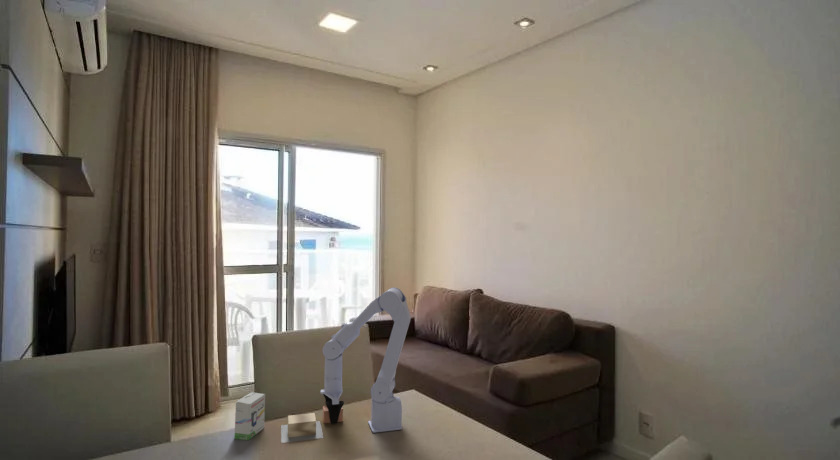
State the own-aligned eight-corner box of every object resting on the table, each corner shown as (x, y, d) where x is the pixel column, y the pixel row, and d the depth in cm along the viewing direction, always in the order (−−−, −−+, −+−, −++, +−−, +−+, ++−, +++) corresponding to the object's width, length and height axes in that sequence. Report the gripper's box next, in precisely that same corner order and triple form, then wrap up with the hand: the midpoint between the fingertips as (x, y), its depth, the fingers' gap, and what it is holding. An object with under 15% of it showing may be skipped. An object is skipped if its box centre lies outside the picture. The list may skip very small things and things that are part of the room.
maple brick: (314, 425, 140) (314, 412, 140) (315, 434, 134) (316, 420, 134) (287, 428, 138) (288, 415, 138) (288, 437, 132) (288, 423, 132)
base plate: (319, 424, 144) (320, 420, 144) (323, 441, 132) (323, 437, 132) (280, 428, 140) (281, 425, 140) (281, 446, 128) (281, 443, 128)
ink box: (250, 429, 139) (250, 391, 139) (265, 431, 138) (265, 392, 138) (233, 442, 131) (234, 401, 131) (249, 444, 130) (250, 403, 130)
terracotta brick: (341, 419, 148) (341, 404, 148) (342, 424, 144) (342, 409, 144) (322, 421, 146) (322, 406, 146) (323, 426, 142) (324, 411, 142)
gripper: (318, 370, 150) (318, 410, 150) (322, 385, 137) (322, 429, 137) (339, 368, 152) (339, 408, 153) (346, 383, 139) (345, 426, 139)
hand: (332, 418), depth 145 cm, fingers open, 7 cm apart
